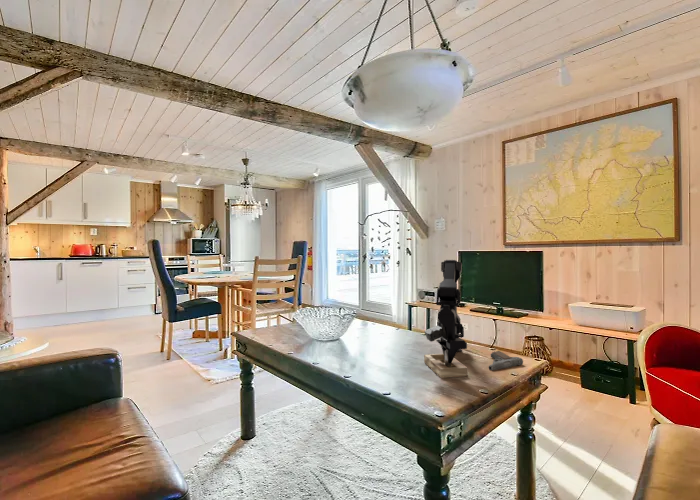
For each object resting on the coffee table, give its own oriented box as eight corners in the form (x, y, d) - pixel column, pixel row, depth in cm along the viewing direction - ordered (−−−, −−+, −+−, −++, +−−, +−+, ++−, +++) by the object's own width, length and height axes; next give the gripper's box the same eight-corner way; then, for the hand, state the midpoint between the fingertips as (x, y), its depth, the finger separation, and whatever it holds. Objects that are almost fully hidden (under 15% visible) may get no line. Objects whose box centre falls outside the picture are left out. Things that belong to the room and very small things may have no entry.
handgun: (470, 355, 144) (492, 365, 133) (500, 349, 150) (524, 358, 139) (470, 363, 144) (492, 373, 133) (500, 357, 150) (524, 366, 139)
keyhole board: (424, 362, 143) (424, 354, 143) (448, 360, 145) (448, 353, 145) (440, 377, 127) (440, 369, 126) (467, 376, 128) (467, 367, 128)
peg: (440, 368, 134) (440, 348, 134) (451, 368, 135) (451, 348, 135) (444, 372, 130) (444, 352, 130) (456, 372, 130) (456, 351, 130)
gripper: (418, 315, 140) (418, 355, 140) (436, 326, 122) (436, 371, 122) (445, 314, 142) (446, 353, 142) (467, 324, 123) (467, 370, 123)
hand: (448, 361), depth 132 cm, fingers closed on peg, 2 cm apart
